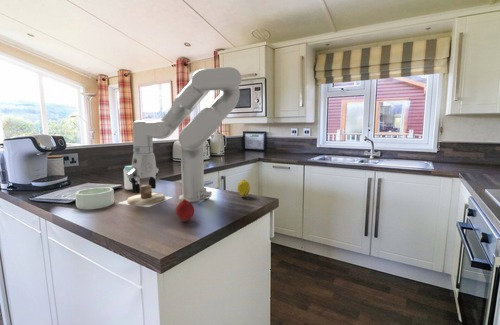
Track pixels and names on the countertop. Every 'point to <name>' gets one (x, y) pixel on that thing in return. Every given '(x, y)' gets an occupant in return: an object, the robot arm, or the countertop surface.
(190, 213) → the onion
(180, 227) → the countertop surface
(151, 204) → the mat
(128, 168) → the can
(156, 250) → the countertop surface
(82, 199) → the bowl
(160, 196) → the lid
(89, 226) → the countertop surface
